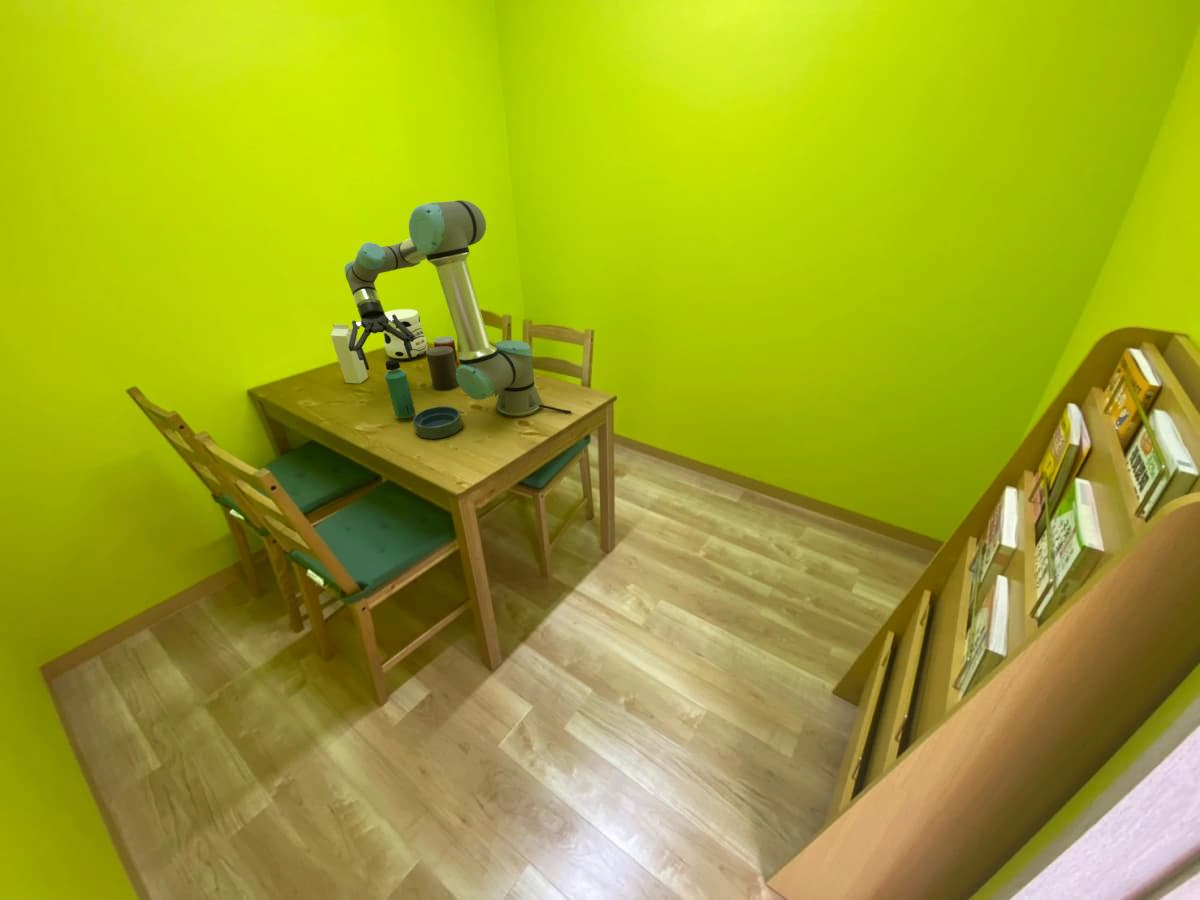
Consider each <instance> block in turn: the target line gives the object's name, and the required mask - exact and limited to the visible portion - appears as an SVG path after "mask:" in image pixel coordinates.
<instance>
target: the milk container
mask: <svg viewBox="0 0 1200 900" xmlns="http://www.w3.org/2000/svg"><path fill="white" fill-rule="evenodd" d="M384 313H385V316H386V317H387V318H388V317H392V315H396V317H397V319H398V320H399V321H400V322H401V323H402V324H403V325H404V326H405V327H406V328H407V329H408V330H409V331H410V332H411V333H412V334H413V335H414V340H411V341H410V343H411V345H412V351H410V352H411V355H412V359H416V358H419V357H422V356H423V355H425V354H426V351H427V350H429V348H428V347H429V346H428V339H427V337H426V335H425V334H424V331H423V326H422V322H421V317H420V315H419V312H418V310H416V309H413V308H412V309H410V308H402V309H401V308H399V309H392V310H388V311H386V312H385V311H384ZM388 324H389V325H391V327H393V328H395V329H396V330H398V331H399V332H401V333H403V332H402V331H401V330H400V329H399V328H398V327H396V325H395V324H393V323H391V322H389V323H388ZM382 333H383V337H384V338H383V339H384V341H383V343H384V344H383V347H384V350H385V352H386V354H387V356H388V357H390V358H391V359H393V360H409V357H408V355H407V352H406V349H405V346H404V341H402V340H401V339H399V338H397V337H396V336H394V335H392V334H391V333H388V332H386V331H383V332H382ZM403 334H404V333H403ZM404 335H405V334H404Z"/></svg>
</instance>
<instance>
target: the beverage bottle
mask: <svg viewBox="0 0 1200 900" xmlns="http://www.w3.org/2000/svg"><path fill="white" fill-rule="evenodd" d="M385 368H386V370H388V371H387V372H386V373H385V375H384V378H385V381H386V384H387V388H388V389H387V390H388V392H389V396H390V401H391V404H392V405H391V406H392V408H393V411H394V415H395V416H396V418H398V419H407V418H410V417H413V416H415V415H416V414H415V413H416V409H415V404H414V399H413V397H412V393H411V388H410V384H409V382H408V381H409V380H408V378H407V373H406V372H405V371H404V370H402V369H400V368H401V364H400V361H399V359H390V360H387V361H385Z"/></svg>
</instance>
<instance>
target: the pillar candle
mask: <svg viewBox="0 0 1200 900" xmlns="http://www.w3.org/2000/svg"><path fill="white" fill-rule="evenodd" d="M425 354H426V360H427V362H428V369H429V374H430V379H431V384H432V387H433V388H434V389H435V390H437V391H448V390H452V389H455V388H457V387H459V384H458V382H457V379H456V373H457V372H456V371H457V369H458V368H457V365H456V363H455V357H454V352H453V348H451V347H446V346H440V347H434V346H433V347H430V348H428V349H427V351H426V353H425Z"/></svg>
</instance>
